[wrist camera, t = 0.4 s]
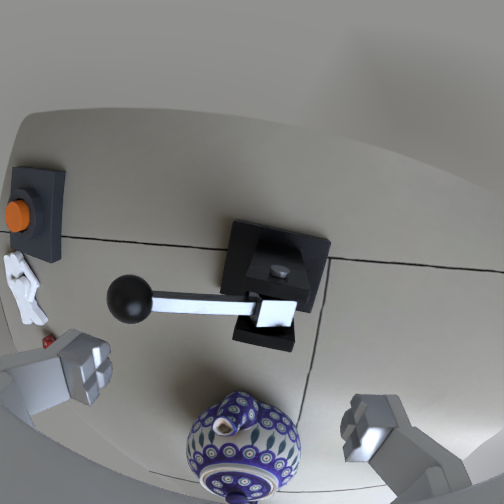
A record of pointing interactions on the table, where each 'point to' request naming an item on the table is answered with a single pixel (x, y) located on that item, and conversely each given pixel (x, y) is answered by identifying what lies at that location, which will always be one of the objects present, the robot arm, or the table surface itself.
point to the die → (48, 341)
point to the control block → (39, 211)
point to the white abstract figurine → (24, 288)
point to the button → (17, 215)
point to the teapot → (243, 449)
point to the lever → (193, 304)
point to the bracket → (272, 275)
